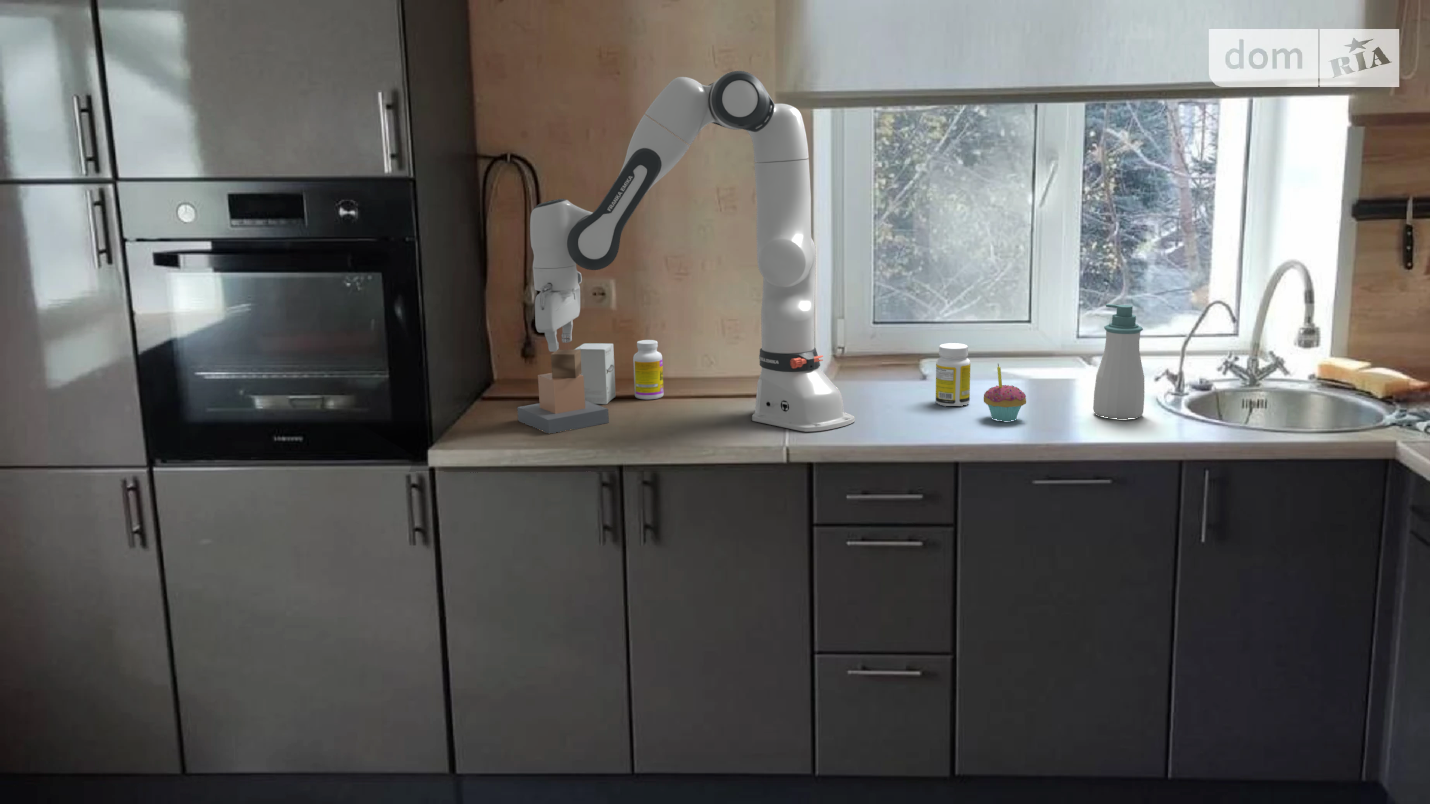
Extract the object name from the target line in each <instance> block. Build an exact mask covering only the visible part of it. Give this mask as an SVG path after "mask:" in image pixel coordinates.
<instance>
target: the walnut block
mask: <svg viewBox="0 0 1430 804" xmlns="http://www.w3.org/2000/svg"><path fill="white" fill-rule="evenodd" d="M550 362H551V363H550V365H551V373H552V378H577V377H578V376H579V375H580V374H581V373H582V370H581V350H574V349H558V350H557V351H555V352H552V353H550Z"/></svg>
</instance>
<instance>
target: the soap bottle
mask: <svg viewBox="0 0 1430 804" xmlns="http://www.w3.org/2000/svg"><path fill="white" fill-rule="evenodd" d="M1105 307H1106V308H1115V309H1116V314H1115V313H1114V314H1112V317H1111V319H1112V321H1111V322H1110V323H1109V324H1106V325H1104V326H1103V329H1104V330H1105V344H1104V345H1105V346H1104V350H1103V353H1102V356H1101V360H1100V363H1099V365H1098V369H1097V372H1096V374H1095V375H1096V378H1095V385H1094V391H1093V407H1092V409H1093V413H1094V412H1095V413H1094V414H1095V415H1096V414H1097V415H1099V416H1104V417H1108V418H1117V419H1128V418H1136V417H1139V418H1140V417H1142V415H1143V414H1144V408H1145V407H1144V406H1145V373H1144V368H1143V363H1142V358H1141V353H1140V340H1141V339H1140V338H1141V332H1142V331H1143V330H1144V329H1143V326H1141V325H1139V324H1137V323H1136V322H1137V321H1136V320H1137V316H1136V315H1135V314H1133V305H1130V304H1114V303H1106V304H1105ZM1097 415H1096V416H1097ZM1099 416H1098V417H1099Z"/></svg>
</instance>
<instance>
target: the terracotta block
mask: <svg viewBox="0 0 1430 804" xmlns="http://www.w3.org/2000/svg"><path fill="white" fill-rule="evenodd" d="M537 383H538V398H539V403H540V408H542V409H545V410H547V411H550V412H552V413H555V414H558V413H563V412H568V411H574V410H579V409H585V393H584V376H583V375H579V376H578V377H577V378H552V372H549V373H544V374H543V373H542V374H538V375H537Z"/></svg>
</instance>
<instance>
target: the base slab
mask: <svg viewBox="0 0 1430 804" xmlns="http://www.w3.org/2000/svg"><path fill="white" fill-rule="evenodd" d="M517 420H518V422H520V423H521V424H524V423H525V424H524V425H526V426H530V427H531V426H533V427H532V428H534V427H535V428H534V429H536V428H537V429H536V430H538V429H540V430H543V431H544V432H543V431H542V432H543V433H545V432H546V433H545V434H547V433H553V434H557V433H556V432H558V433H561V432H560V431H564V432H566V431H565V430H569V431H571V430H570V429H574V430H579V429H583V428H590V427H595V426H598V425H604V424H609V423H610V421H609V420H610V419H609V409H608V408H606V407H605V406H601V405H600V404H594V403H591V402H588V401H585V409H579V410H574V411H568V412H563V413H558V414H555V413H552V412H550V411H547V410H545V409H542V408H540V402H539V403H533V404H528V405H523V406H517ZM540 430H539V431H540Z"/></svg>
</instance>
